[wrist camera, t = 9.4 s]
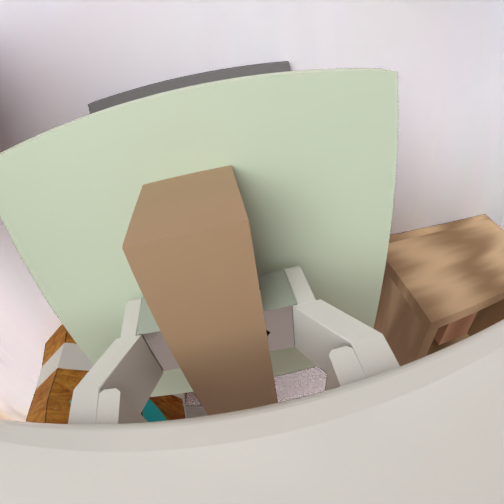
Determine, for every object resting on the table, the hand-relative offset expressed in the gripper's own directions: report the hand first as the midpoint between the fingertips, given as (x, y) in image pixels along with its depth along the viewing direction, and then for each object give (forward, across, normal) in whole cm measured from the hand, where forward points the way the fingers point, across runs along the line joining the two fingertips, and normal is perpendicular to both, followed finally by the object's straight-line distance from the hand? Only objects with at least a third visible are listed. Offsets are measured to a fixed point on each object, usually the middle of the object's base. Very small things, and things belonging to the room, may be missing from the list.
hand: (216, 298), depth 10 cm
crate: (+9, -16, +12) cm, 22 cm away
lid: (+4, 0, 0) cm, 4 cm away
